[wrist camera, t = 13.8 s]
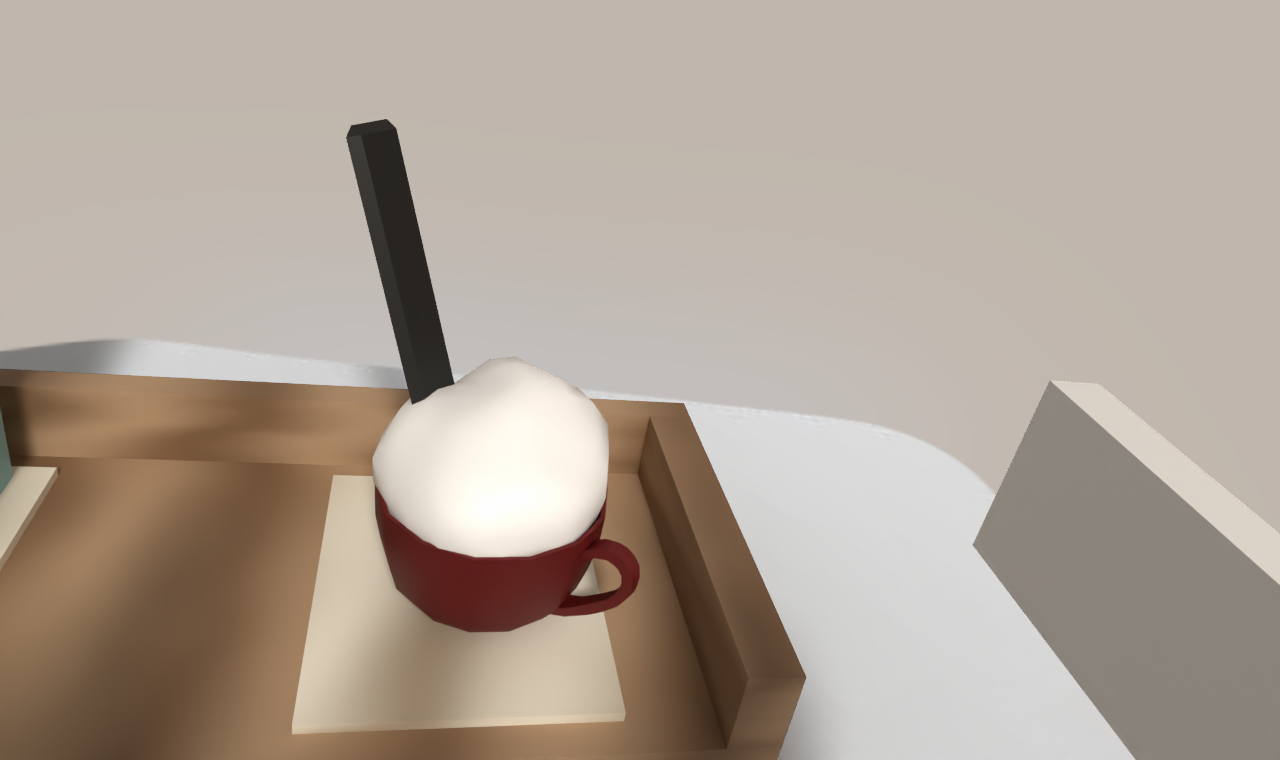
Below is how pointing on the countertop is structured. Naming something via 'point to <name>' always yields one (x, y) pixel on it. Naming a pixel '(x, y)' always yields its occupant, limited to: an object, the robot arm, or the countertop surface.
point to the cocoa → (478, 451)
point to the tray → (346, 593)
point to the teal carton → (4, 459)
